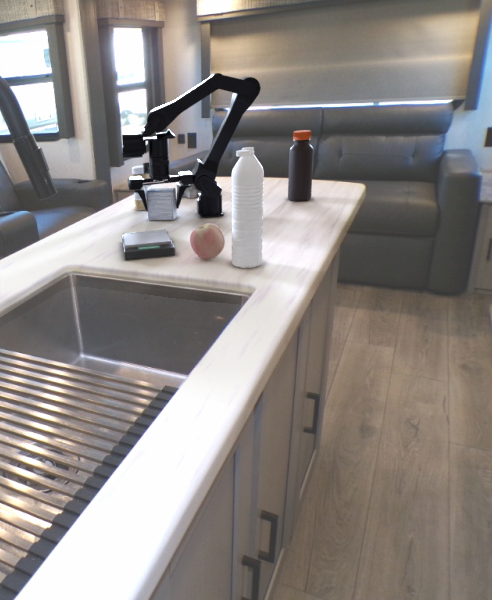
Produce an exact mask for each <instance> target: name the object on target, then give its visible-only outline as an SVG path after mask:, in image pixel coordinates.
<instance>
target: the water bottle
mask: <svg viewBox="0 0 492 600" xmlns="http://www.w3.org/2000/svg"><path fill="white" fill-rule="evenodd" d="M235 157H237V158H238V157H239V158H238V160H237V161H236V163H235V165H234V166H233V168H232V169H231V170H232V171H231V177H230V178H231V264H232V265H233V266H234V267H237V268H242V269H248V268H249V269H252V268H253V269H254V268H256V267H259V266H261V265H262V263H263V232H264V231H263V230H264V228H263V225H264V218H263V217H264V177H265V171H264V167H263V165H262V164H261V162H260V161H259V159H258V158H257V157H256V155H255V147H254V146H246V147H245V146H244V147H242V148H241V149H238V150H236V151H235Z"/></svg>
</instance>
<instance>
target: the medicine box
mask: <svg viewBox="0 0 492 600" xmlns="http://www.w3.org/2000/svg"><path fill="white" fill-rule="evenodd" d="M146 196H147V207H148V212H147V220H148V221H174V220H175V219H176V218H177V216H178V209H177V206H176V198H177V187H154V188H152V187H151V188H148V191H147V192H146Z"/></svg>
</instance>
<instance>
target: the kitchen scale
mask: <svg viewBox="0 0 492 600" xmlns="http://www.w3.org/2000/svg"><path fill="white" fill-rule="evenodd" d="M121 244H122V251H123V257H124V261H133V260H141V259H142V260H143V259H155V258H162V257H173V256H176V248H175V245H174V243H173V240H172V237H171V236H170V234H169V232H168V230H166V228H165V229H164V228H163V229H154V230H143V231H135V232H124V233H123V235H121Z"/></svg>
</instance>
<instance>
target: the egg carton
mask: <svg viewBox="0 0 492 600" xmlns="http://www.w3.org/2000/svg"><path fill="white" fill-rule="evenodd" d="M189 185H190V187H188V188H186V190H185V192H184V194H183V196H182V198H185V197H186V198H188V199H193V198H198V197H199V195H198V194H199V193H202V192H201V191H199V190H198V189H196V187H195V186H194V184H189Z"/></svg>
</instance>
